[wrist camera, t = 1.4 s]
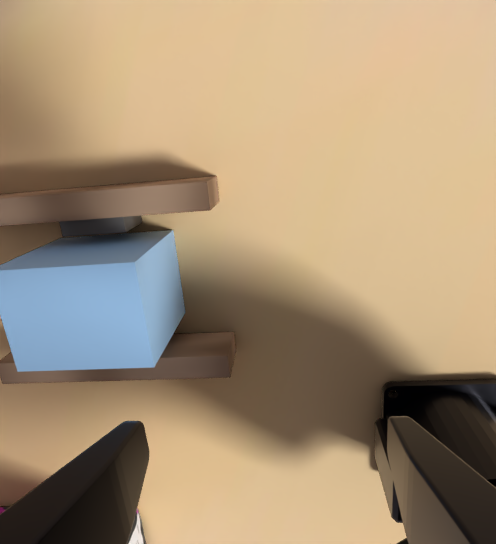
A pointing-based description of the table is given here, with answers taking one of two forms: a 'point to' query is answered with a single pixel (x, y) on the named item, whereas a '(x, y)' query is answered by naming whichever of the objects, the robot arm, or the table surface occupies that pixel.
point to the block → (92, 302)
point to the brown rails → (118, 219)
